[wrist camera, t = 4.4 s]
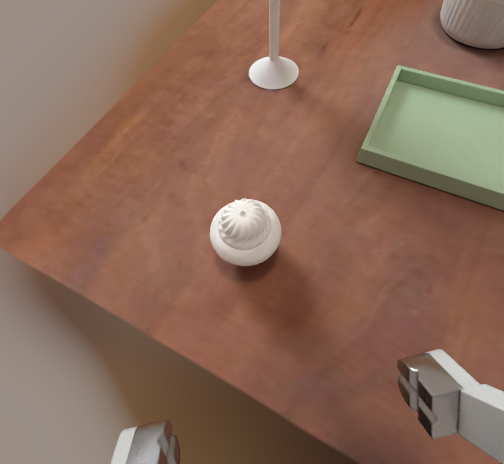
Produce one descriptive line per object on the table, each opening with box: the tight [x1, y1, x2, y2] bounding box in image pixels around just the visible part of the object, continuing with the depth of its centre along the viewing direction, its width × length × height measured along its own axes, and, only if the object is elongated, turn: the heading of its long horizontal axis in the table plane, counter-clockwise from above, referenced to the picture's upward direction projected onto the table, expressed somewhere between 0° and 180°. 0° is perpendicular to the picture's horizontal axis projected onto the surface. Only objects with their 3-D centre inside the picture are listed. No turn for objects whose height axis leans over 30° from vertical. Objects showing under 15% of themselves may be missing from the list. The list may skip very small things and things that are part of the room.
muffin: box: [210, 198, 281, 266], centre depth 25 cm, size 6×6×7 cm
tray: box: [356, 65, 504, 211], centre depth 31 cm, size 19×14×2 cm
